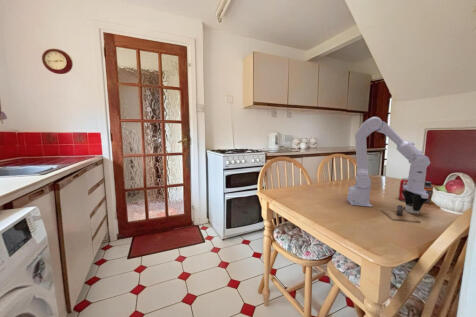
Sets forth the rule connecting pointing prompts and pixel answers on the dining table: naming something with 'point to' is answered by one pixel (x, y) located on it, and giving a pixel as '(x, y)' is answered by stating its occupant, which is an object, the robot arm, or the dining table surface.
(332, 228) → the dining table surface
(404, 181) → the beverage can
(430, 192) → the supplement bottle
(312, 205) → the dining table surface
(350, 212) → the dining table surface
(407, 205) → the tube
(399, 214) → the shaft stand
